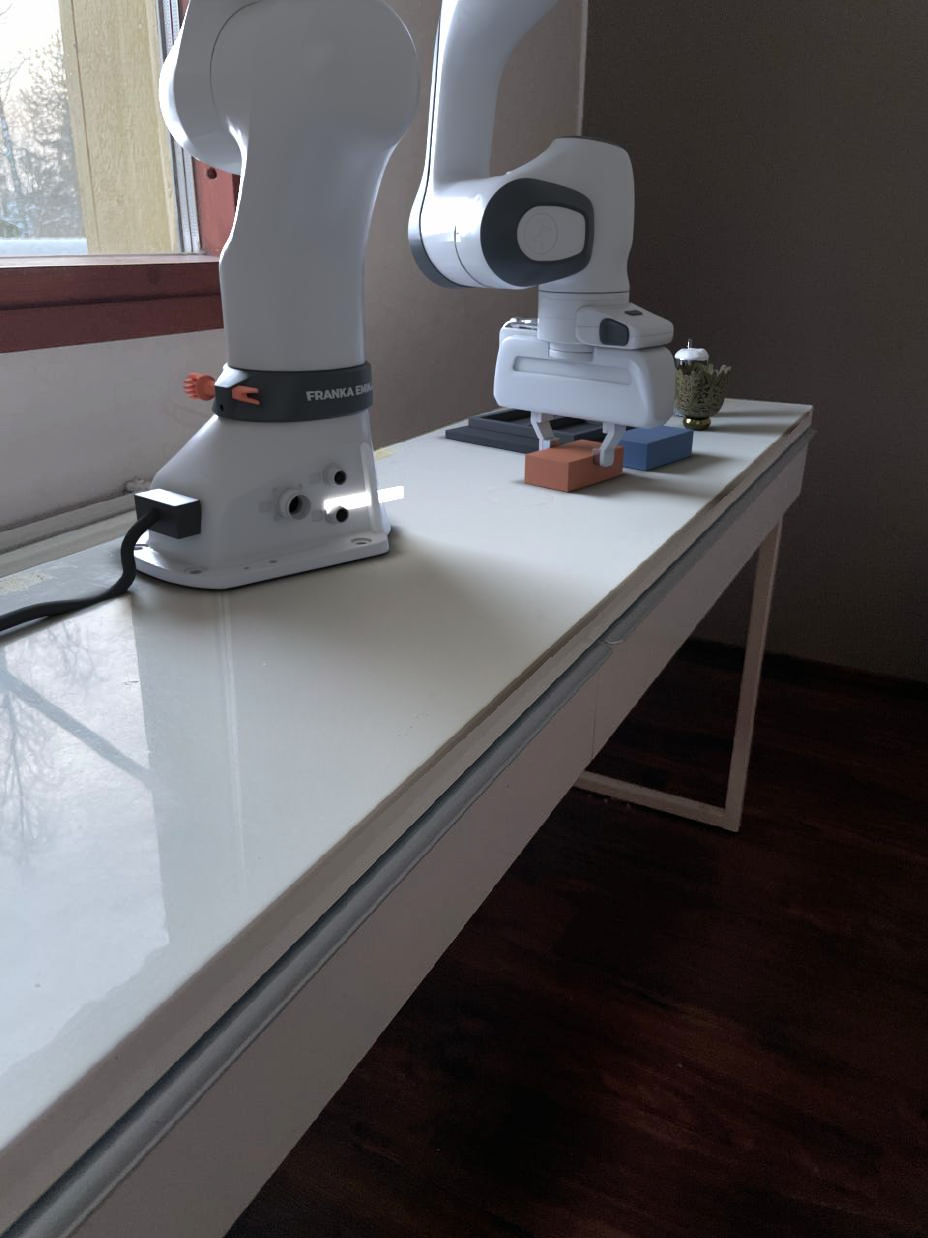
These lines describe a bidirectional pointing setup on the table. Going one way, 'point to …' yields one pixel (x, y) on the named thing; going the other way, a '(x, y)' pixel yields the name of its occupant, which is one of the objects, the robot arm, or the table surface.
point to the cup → (700, 393)
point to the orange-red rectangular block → (570, 466)
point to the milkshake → (690, 359)
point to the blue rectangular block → (655, 446)
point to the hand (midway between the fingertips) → (575, 460)
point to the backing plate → (524, 430)
